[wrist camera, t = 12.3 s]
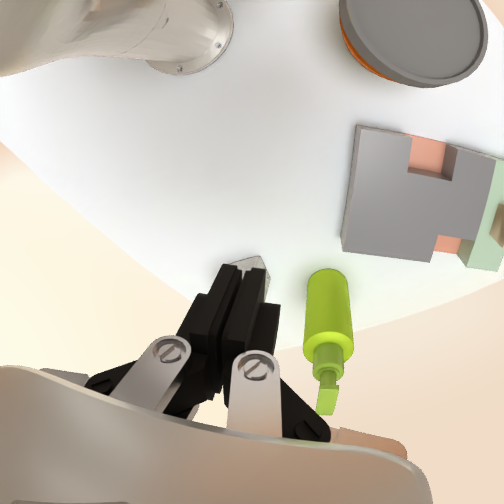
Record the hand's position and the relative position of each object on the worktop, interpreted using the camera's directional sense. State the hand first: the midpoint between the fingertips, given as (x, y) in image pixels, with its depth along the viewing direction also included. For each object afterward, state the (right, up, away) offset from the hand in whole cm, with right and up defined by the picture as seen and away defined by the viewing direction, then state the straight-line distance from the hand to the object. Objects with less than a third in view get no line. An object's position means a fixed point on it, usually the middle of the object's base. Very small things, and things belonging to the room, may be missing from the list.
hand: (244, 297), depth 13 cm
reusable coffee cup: (+16, +27, +16) cm, 35 cm away
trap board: (+24, +9, +24) cm, 35 cm away
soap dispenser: (+11, -3, +34) cm, 36 cm away
